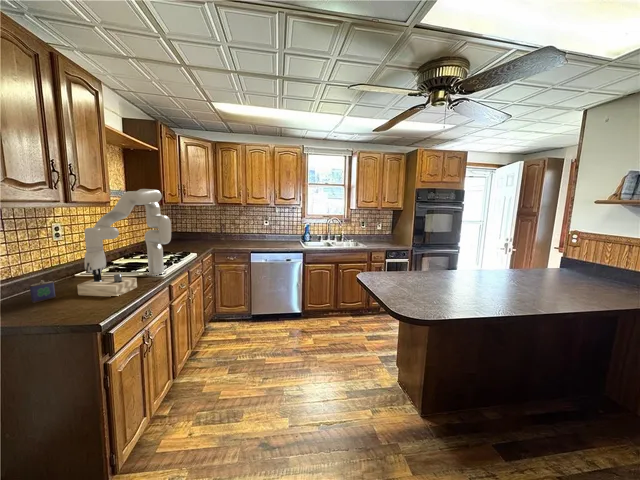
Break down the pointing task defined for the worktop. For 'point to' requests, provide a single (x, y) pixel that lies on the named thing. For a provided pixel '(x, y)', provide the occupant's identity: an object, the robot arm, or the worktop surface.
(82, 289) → the maple block
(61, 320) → the worktop surface
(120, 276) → the peg
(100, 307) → the worktop surface
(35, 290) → the flask
